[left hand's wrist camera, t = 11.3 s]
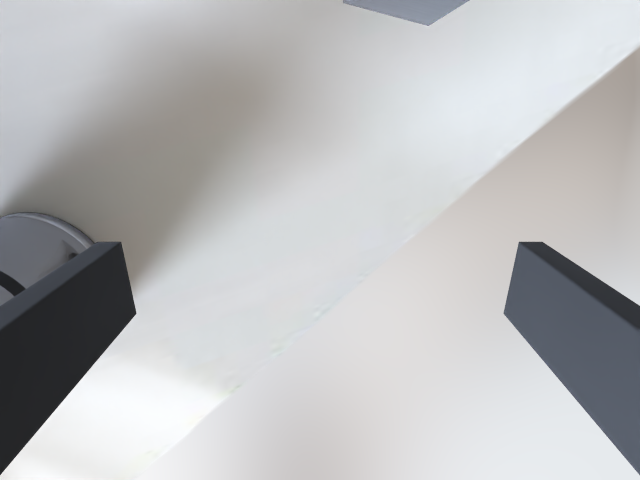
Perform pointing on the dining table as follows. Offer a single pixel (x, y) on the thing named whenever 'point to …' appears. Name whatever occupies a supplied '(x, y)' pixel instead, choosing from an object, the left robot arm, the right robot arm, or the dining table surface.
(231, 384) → the dining table surface
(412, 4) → the bar
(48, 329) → the left robot arm
